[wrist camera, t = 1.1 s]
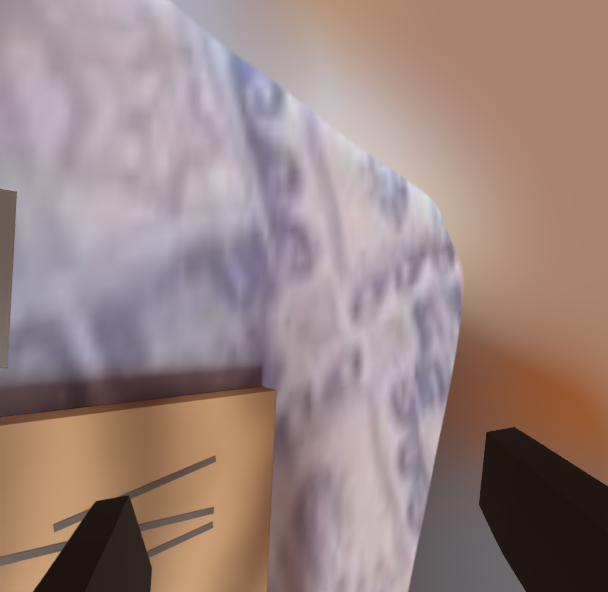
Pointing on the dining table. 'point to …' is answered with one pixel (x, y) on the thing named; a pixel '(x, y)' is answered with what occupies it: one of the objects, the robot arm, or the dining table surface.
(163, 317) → the dining table surface
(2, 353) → the block
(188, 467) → the oak board
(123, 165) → the dining table surface
